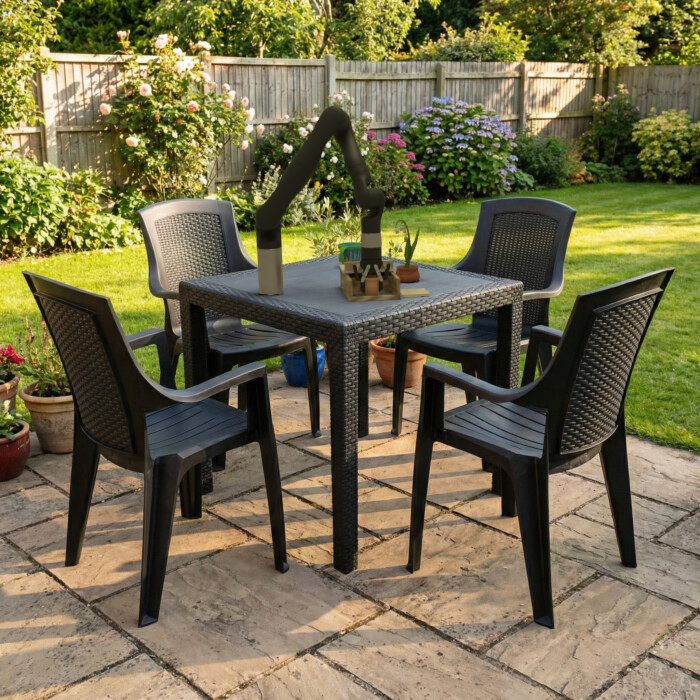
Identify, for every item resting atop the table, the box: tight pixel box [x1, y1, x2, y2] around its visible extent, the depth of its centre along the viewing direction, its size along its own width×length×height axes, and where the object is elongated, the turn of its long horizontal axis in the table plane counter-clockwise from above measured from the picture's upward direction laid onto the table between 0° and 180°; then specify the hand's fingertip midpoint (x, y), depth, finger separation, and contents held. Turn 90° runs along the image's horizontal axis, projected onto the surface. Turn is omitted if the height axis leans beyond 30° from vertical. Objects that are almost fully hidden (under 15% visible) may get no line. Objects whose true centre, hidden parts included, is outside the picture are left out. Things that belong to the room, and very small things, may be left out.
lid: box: [338, 259, 396, 274], centre depth 328 cm, size 19×13×4 cm
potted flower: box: [390, 217, 421, 283], centre depth 342 cm, size 12×10×25 cm
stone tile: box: [400, 287, 431, 298], centre depth 321 cm, size 10×10×1 cm
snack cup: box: [337, 241, 361, 265], centre depth 377 cm, size 16×10×10 cm
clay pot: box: [363, 275, 380, 296], centre depth 317 cm, size 6×6×7 cm
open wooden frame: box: [339, 268, 401, 303], centre depth 324 cm, size 18×28×8 cm, turn 7°
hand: (371, 291), depth 317 cm, fingers closed on clay pot, 5 cm apart
